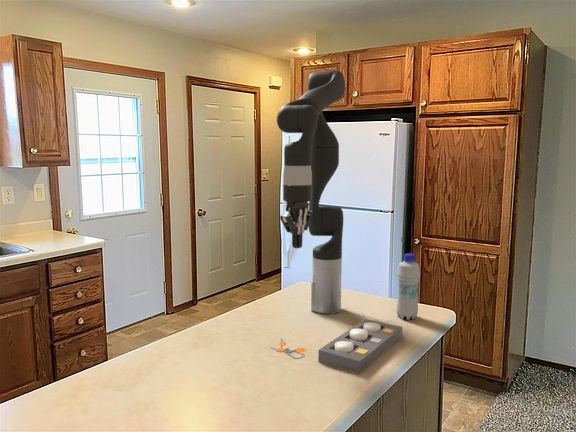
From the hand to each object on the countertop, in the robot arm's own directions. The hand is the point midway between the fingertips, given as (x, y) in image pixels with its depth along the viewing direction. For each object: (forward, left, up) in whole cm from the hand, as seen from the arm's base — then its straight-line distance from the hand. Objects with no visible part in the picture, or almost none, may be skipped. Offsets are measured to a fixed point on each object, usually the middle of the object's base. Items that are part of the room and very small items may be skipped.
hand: (297, 247), depth 128 cm
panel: (+18, -5, -25) cm, 31 cm away
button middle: (+17, -5, -23) cm, 29 cm away
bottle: (+31, +21, -25) cm, 45 cm away
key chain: (-1, -8, -26) cm, 27 cm away
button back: (+20, +3, -23) cm, 31 cm away
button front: (+13, -12, -23) cm, 29 cm away
